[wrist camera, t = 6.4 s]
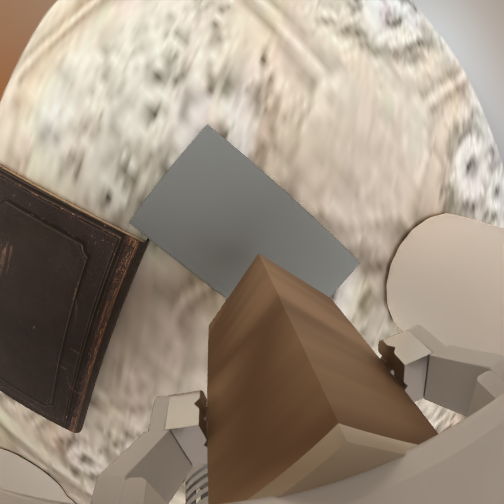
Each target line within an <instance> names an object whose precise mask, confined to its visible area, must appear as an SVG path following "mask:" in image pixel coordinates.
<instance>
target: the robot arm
mask: <svg viewBox="0 0 504 504" xmlns="http://www.w3.org/2000/svg"><path fill="white" fill-rule="evenodd" d="M378 351H379V353H380V354H381V355H382V357H381V358H380V360H381V361H382V362H383V363H384V365H385V366H386V367H387V369H388V370H389V371H390V372H391V374H392V375H393V376H394V377H395V379H396V380H397V381H398V382H399V384H400V385H401V386H402V388H403V389H404V390H405V391H406V393H407V394H408V395H409V397H410V398H411V399H412V400H413V402H415V401H418V400H420V399H422V398H424V399H426V400H428V401H430V402H433V403H435V404H438V405H440V406H442V407H445V408H447V409H450V410H452V411H454V412H457V413H459V414H462V415H464V416H467V417H466V419H464V420H462V421H461V422H459V423H457V424H456V425H454V426H452V427H450V428H449V429H447V430H445V431H443V432H442V433H440V434H438V435H436V436H434V437H432V438H430V439H428V440H427V441H425V442H423V443H421V444H419V445H417V446H415V447H413V448H410V449H408V450H407V452H406V455H404V456H401V457H399V458H397V459H395V460H393V461H390V462H388V463H386V464H383V465H381V466H378V467H376V468H373V469H371V470H368V471H366V472H363V473H360V474H358V475H355V476H352V477H349V478H346V479H343V480H340V481H337V482H334V483H331V484H328V485H325V486H321V487H318V488H314V489H311V490H307V491H303V492H300V493H296V494H292V495H287V496H283V497H279V498H276V497H274V496H266V497H261V498H256V499H250V500H244V501H238V502H231V503H224V504H504V355H501V354H496V353H490V352H484V351H479V350H473V349H468V348H462V347H457V346H452V345H449V346H445V345H444V344H442V343H441V342H440V341H439V340H438V339H437V338H435V337H434V336H433V335H432V334H431V333H430V332H428V331H427V330H426V329H425V328H424V327H422V326H421V325H416V326H414V327H411V328H409V329H407V330H405V331H403V332H401V333H398V334H396V335H393V336H390V337H388V338H385V339H383V340H380V341H379V344H378ZM206 463H207V399H206V397H205V395H204V393H203V391H201V390H200V391H194V392H188V393H181V394H174V395H168V396H161V397H157V398H156V399H155V401H154V405H153V410H152V415H151V420H150V424H149V429H148V432H144V433H143V434H142V435H141V436H140V437H139V438H138V439H137V440H136V441H135V442H134V443H133V444H132V445H130V446H129V447H128V448H127V449H126V450H125V451H124V452H123V453H122V454H121V455H120V456H119V457H118V458H117V459H116V460H115V461H114V462H113V463H112V464H110V465H109V466H108V467H107V468H106V469H105V470H104V471H103V472H102V473H101V474H100V475H99V476H98V478H97V481H96V485H95V489H94V492H93V496H92V500H91V504H168V503H169V502H170V501H171V499H172V498H173V496H174V495H175V493H176V492H177V490H178V489H179V487H180V486H181V484H182V483H183V481H184V479H185V478H186V476H187V475H188V473H189V472H190V470H191V469H192V465H199V464H206ZM0 504H75V503H74V502H73V501H72V500H71V499H70V498H68V497H67V495H66V494H65V492H64V491H63V489H62V488H61V487H60V486H59V485H58V484H57V483H56V482H55V481H54V480H53V479H52V478H51V477H50V476H48V475H47V474H46V473H45V472H43V471H42V470H40V469H39V468H38V467H36V466H35V465H33V464H32V463H30V462H28V461H27V460H25V459H23V458H21V457H19V456H18V455H16V454H13V453H11V452H9V451H6V450H3V449H0Z"/></svg>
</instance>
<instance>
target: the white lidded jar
mask: <svg viewBox="0 0 504 504" xmlns="http://www.w3.org/2000/svg"><path fill="white" fill-rule="evenodd" d="M386 287H387V305H388V308H389V311H390V314H391V316H392V319H393V322H394V323H395V324H396V325H397V326H398V327H399V328H400V329H401V330H402V331H405V330H407V329H409V328H411V327H414V326H416V325H421V326H422V327H424V328H425V329H426V330H427V331H428V332H430V333H431V334H432V335H433V336H434V337H435V338H437V339H438V340H439V341H440V342H441V343H442V344H444V345H445V346H449V345H452V346H457V347H462V348H468V349H473V350H479V351H484V352H490V353H496V354H501V355H504V229H503V228H500V227H497V226H494V225H490V224H487V223H484V222H480V221H477V220H473V219H470V218H466V217H463V216H459V215H454V214H449V213H445V214H441V215H437V216H433V217H430V218H428V219H426V220H425V221H423V222H422V223H421V224H419V225H418V226H416V227H415V228H414V229H412V231H411V232H410V233H409V234H408V236H407V237H406V238H405V239H404V241H403V242H402V243H401V244H400V246H399V248H398V250H397V252H396V255H395V257H394V259H393V261H392V263H391V266H390V271H389V275H388V280H387V284H386Z"/></svg>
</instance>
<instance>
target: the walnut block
mask: <svg viewBox="0 0 504 504" xmlns="http://www.w3.org/2000/svg"><path fill="white" fill-rule="evenodd" d="M436 435H438V433H437V432H436V430H435V429H434V428H433V426H432V425H431V424H430V423H429V421H428V420H427V419H426V417H425V416H424V415H423V413H422V412H421V411H420V409H419V408H418V407H417V406H416V404H415V403H414V402H413V400H412V399H411V398H410V397H409V395H408V394H407V393H406V391H405V390H404V389H403V388H402V386H401V385H400V384H399V382H398V381H397V380H396V379H395V377H394V376H393V375H392V374H391V372H390V371H389V370H388V369H387V367H386V366H385V365H384V363H383V362H382V361H381V360H380V358H379V357H378V356H377V355H376V353H375V352H374V351H373V350H372V348H371V347H370V346H369V345H368V344H367V342H366V341H365V340H364V339H363V337H362V336H361V335H360V334H359V332H358V331H357V330H356V329H355V327H354V326H353V325H352V324H351V323H350V321H349V320H348V319H347V318H346V316H345V315H344V314H343V313H342V312H341V310H340V309H339V308H338V307H337V306H336V304H335V303H334V302H333V301H332V300H331V298H330V297H328V296H327V295H325V294H323V293H322V292H320V291H319V290H317V289H315V288H314V287H312V286H310V285H309V284H307V283H306V282H304V281H302V280H301V279H299V278H298V277H296V276H294V275H293V274H291V273H290V272H288V271H286V270H285V269H283V268H282V267H280V266H278V265H277V264H275V263H274V262H272V261H270V260H269V259H267V258H265V257H264V256H262V255H261V254H259V253H258V255H257V256H256V258H255V259H254V260H253V262H252V263H251V265H250V266H249V268H248V269H247V271H246V272H245V274H244V275H243V277H242V278H241V280H240V281H239V283H238V284H237V286H236V287H235V288H234V290H233V291H232V293H231V294H230V296H229V297H228V299H227V300H226V302H225V303H224V305H223V306H222V308H221V309H220V310H219V312H218V313H217V315H216V316H215V318H214V319H213V321H212V322H211V324H210V325H209V339H208V387H207V463H208V504H224V503H231V502H238V501H244V500H250V499H256V498H261V497H266V496H274V497H276V498H279V497H283V496H287V495H292V494H296V493H300V492H303V491H307V490H311V489H314V488H318V487H321V486H325V485H328V484H331V483H334V482H337V481H340V480H343V479H346V478H349V477H352V476H355V475H358V474H360V473H363V472H366V471H368V470H371V469H373V468H376V467H378V466H381V465H383V464H386V463H388V462H390V461H393V460H395V459H397V458H399V457H401V456H404V455H406V452H407V450H408V449H410V448H413V447H415V446H417V445H419V444H421V443H423V442H425V441H427V440H428V439H430V438H432V437H434V436H436Z"/></svg>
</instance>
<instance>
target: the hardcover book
mask: <svg viewBox="0 0 504 504" xmlns="http://www.w3.org/2000/svg"><path fill="white" fill-rule="evenodd" d="M148 242H149V239H147V241H144V240H141V239H139V238H137V237H135V236H134V235H132V234H130V233H128V232H126V231H124V230H122V229H120V228H118V227H116V226H114V225H112V224H110V223H108V222H106V221H104V220H102V219H100V218H98V217H96V216H94V215H92V214H90V213H89V212H87V211H85V210H83V209H81V208H79V207H77V206H75V205H73V204H71V203H70V202H68V201H66V200H64V199H62V198H60V197H58V196H56V195H55V194H53V193H51V192H49V191H47V190H45V189H43V188H42V187H40V186H38V185H36V184H34V183H32V182H31V181H29V180H27V179H25V178H23V177H22V176H20V175H18V174H16V173H14V172H13V171H11V170H9V169H7V168H5V167H4V166H2V165H0V391H2V392H3V393H5V394H6V395H8V396H9V397H11V398H12V399H14V400H16V401H17V402H19V403H20V404H22V405H24V406H25V407H27V408H29V409H30V410H32V411H34V412H36V413H37V414H39V415H41V416H43V417H45V418H46V419H48V420H50V421H52V422H54V423H56V424H58V425H60V426H62V427H64V428H66V429H68V430H70V431H72V432H74V433H79V432H80V431H81V430H82V427H83V424H84V420H85V416H86V413H87V409H88V406H89V402H90V399H91V396H92V392H93V389H94V386H95V382H96V379H97V376H98V373H99V370H100V367H101V364H102V361H103V358H104V355H105V352H106V349H107V346H108V343H109V340H110V338H111V335H112V332H113V329H114V326H115V324H116V321H117V318H118V316H119V313H120V310H121V308H122V305H123V303H124V300H125V297H126V295H127V292H128V290H129V287H130V285H131V282H132V280H133V278H134V275H135V273H136V270H137V268H138V266H139V263H140V261H141V259H142V256H143V254H144V252H145V249H146V247H147V245H148Z"/></svg>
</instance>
